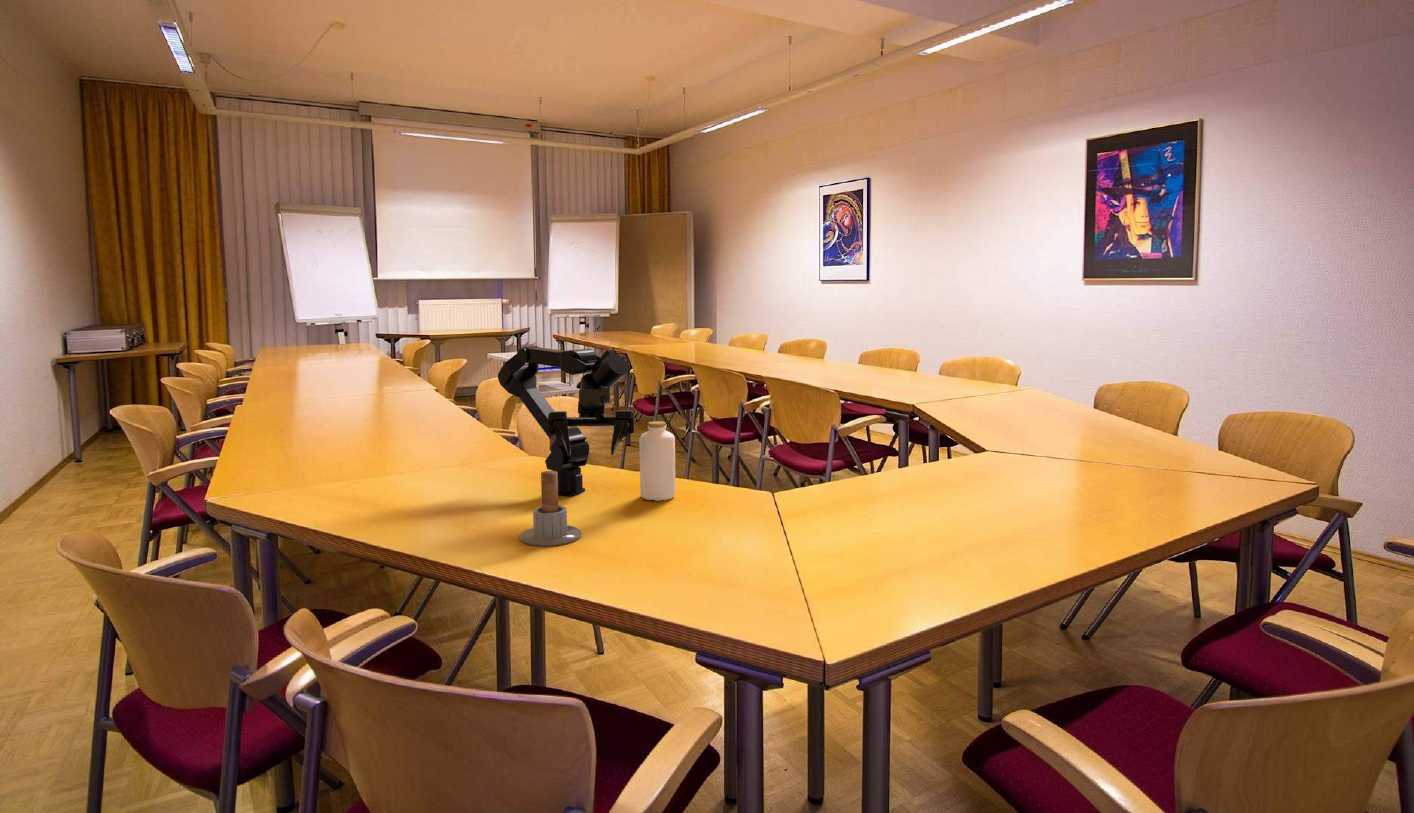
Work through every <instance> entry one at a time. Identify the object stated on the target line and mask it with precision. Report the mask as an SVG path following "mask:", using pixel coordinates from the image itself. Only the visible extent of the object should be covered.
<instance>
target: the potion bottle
mask: <svg viewBox="0 0 1414 813" xmlns="http://www.w3.org/2000/svg"><path fill="white" fill-rule="evenodd" d="M647 429H648V430H647V431H645V432H644V433H641V434H640V436H639V442H638V443H639V490H640V493H639V494H640V496H641V497H642V499H643V500H646V501H650V500H655V501H654V502H660V501H659V500H664V501H669V500H671V499H672V497H673V498H674V497H675V496H676V445H675V444H676V437H675V435H674V434H673V433H672V432H670V431H668V430H667V425H666V421H660V420H655V421H649V422H648V426H647Z"/></svg>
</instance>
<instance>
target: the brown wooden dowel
mask: <svg viewBox="0 0 1414 813" xmlns="http://www.w3.org/2000/svg"><path fill="white" fill-rule="evenodd" d="M540 484H541V485H540V486H541V506H542V513H554V512H558V505H559V495H558V472H556V471H552V470H544V471H541V473H540Z"/></svg>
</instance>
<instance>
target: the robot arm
mask: <svg viewBox="0 0 1414 813" xmlns="http://www.w3.org/2000/svg"><path fill="white" fill-rule="evenodd" d="M540 365H542V366H549V367H556V368H558V369H560V371H561V372H564V373H565V374H568V375H569V376H577V375H582V374H583V376H582V377H581V378H580V381H579V382H578V383H577V384H576V389H578V402H577V414H578V416H568V413H567V411H566V410H562V411H561V410H558V411H555V410H554V408H553V406H551V404H550V403H549V402H548V400H547V399H546V398H545V397H544V394H543V393H541V392H540V390H539V389H538V387H537V376H536V375H537V373H538V372H539V370H540V369H539V366H540ZM629 369H630V368H629V364H628V362H627V361H626V360H625V359H624V357H622V356H621V355H620V354H618V353H616V352H615V350H614V349H607V350H605V351H604V352H603V354H602V355H598V354H596V351H595V350H594V349H592V348H582V349H581V348H580V349H570V350H562V349H553V348H547V347H539V346H537V345H531V346H530V345H529V346H522V348H519V349H518V351H517V352H516V353H515V355H513V356H512V357H511V358H509V359H508V360H507V361H505V362H504V363H503V365H502V366H501V367H500V369H499V371H498V373H497V379H498V383H499V384H500V386H501V387H502V388H503V389H504V390H505V392H507V393H508V394H510V395H512V396H514V397H516V398H518V399H519V400H520V401H521V402H522V403H523V404H524V406H525V408H526V409H527V411H528V412H529V413H530V414H531V416H532V417H533V418H534V419H535V421H536V422H537V424H538V426H540V428H541V429H542V430H543V432H544V433H545V434H546V436H547V437H548V439H549V451H550V453H549V454H548V456H547V457H546V459H545V460H544V463H545V467H546V469H547V470H548V471H556V472H558V496H565V497H571V496H572V497H573V496H574V494H575V495H577V494H580V493H582V492H581V491H583V492H585V491H586V488H585V487H583V483H584V482H583V473H582V470H581V469H582V467H586V465H587V462H588V458H589V454H590V444H589V442H588V440H587V439H588V438H587V436H585V435H584V434H583V432H582V431H581V429H580V427H588V428H594V427H595V428H602V427H603V428H604V427H607V428H608V427H610V428H611V427H613V433H612V438H611V445H610V446H611V447H610V454H611V456H613V455H615V452H616V450H617V449H618V446H619V445H620V443H621V441H622V440H623V439H624V437H625V438H626V437H628V436H629V435H631V434H634V433H635V413H634V411H633V410H632V409H631V410H629V409H628V410H627V409H625V410H624V409H623V410H618V409H617V410H615V416H606V404H610V403H611V388H612V387H613V386H614V385H615V384H617V382H619V381H620V380H621V379H622V378H624V376H626V375H627V374H628V372H629ZM579 492H580V493H579Z"/></svg>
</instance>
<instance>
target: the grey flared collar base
mask: <svg viewBox="0 0 1414 813" xmlns="http://www.w3.org/2000/svg"><path fill="white" fill-rule="evenodd" d="M567 511H568V509H567V507H566V506H564V505H559V504H558V512H554V513H542V505H541V506H538V507H535V508H533V510H532V518H533V521H532V523H533V527H531V528H528V529H526V530H523V531H522V532H521V533H520V535H519V540H520V542H521V543H523V544H524V545H527V546H531V547H542V548H544V547H545V548H546V547H548V548H549V547H558V546H565V545H568V544H572V543H574V542H577V541H578V540H580V538H582V530H581V529H580V528H578V527H576V526H573V525H568V512H567Z"/></svg>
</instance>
